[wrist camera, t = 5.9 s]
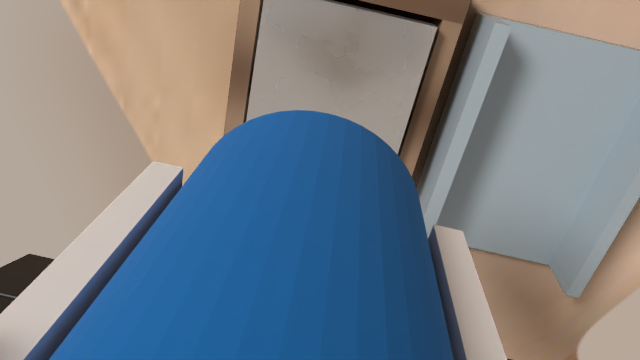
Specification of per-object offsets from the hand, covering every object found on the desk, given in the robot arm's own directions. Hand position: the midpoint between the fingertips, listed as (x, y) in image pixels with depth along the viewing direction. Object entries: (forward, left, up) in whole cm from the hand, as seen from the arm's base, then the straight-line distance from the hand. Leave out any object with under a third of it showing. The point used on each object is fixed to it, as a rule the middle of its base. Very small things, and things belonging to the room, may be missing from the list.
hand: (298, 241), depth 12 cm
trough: (+2, +12, -17) cm, 21 cm away
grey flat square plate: (0, 0, -15) cm, 15 cm away
